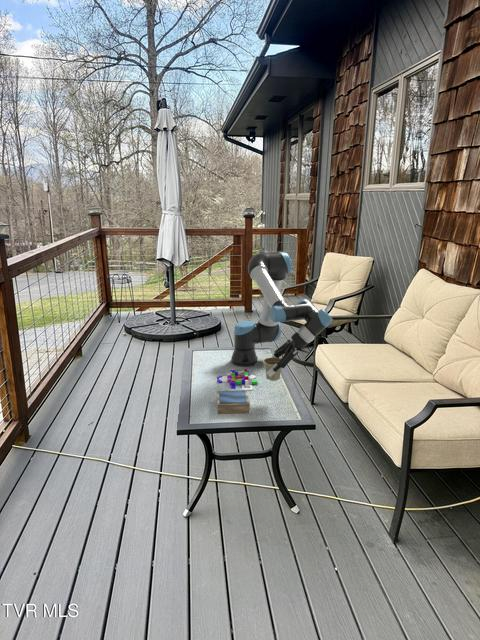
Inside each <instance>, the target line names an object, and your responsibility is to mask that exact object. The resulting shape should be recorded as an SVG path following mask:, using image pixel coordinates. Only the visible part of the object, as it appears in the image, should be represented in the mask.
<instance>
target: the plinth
mask: <svg viewBox="0 0 480 640" xmlns="http://www.w3.org/2000/svg"><path fill="white" fill-rule="evenodd" d="M248 392H249V391H247V390H242V389H241V390H235V389H234V390H217V391H216V399H217V400H216V402H217V405H216V406H217V407H216V408H217V415H247V414H250V411H251V410H250V407H251V406H250V398H249V394H248Z"/></svg>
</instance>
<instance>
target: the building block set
mask: <svg viewBox="0 0 480 640" xmlns="http://www.w3.org/2000/svg"><path fill="white" fill-rule="evenodd" d="M256 377H257V376H256V375H253V374H251V375H250V370H248V369H247V368H243V370H241V371H240V370H239V371H238V370H237V371H236V369H231V370H230V373H228V372H227V373H226V375H219V376H217V381H216V382H218V384H223V383H229V385H230V387H231V389H236V388H237V387H236V386H239V385H241V390H247V392H249V391H250V392H252V391H253V385H254V386H258V381H259V380H257V379H256Z"/></svg>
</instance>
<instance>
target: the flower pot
mask: <svg viewBox="0 0 480 640" xmlns="http://www.w3.org/2000/svg"><path fill="white" fill-rule="evenodd" d="M280 360H281V358H280V357H279V358H275V357H272V356H271V357H267V358H264V359H263V360H262V362H263V365H264V369H265V377H266V380H269V381H270V382H271V381H272V382H275V381H279V380H280V379H281V375H282V374H281V373H282V369H283V368H280V369H279V370H278V371H277V372H276V373H275V374H273V375H272V376H271V377H270V376H269V375H267V374H266V372H267V371H269V370H270V369H271V368H272V367H273V366H274V365H275V364H276V362H279V361H280Z"/></svg>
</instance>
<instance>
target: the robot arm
mask: <svg viewBox="0 0 480 640" xmlns="http://www.w3.org/2000/svg"><path fill="white" fill-rule="evenodd" d="M292 266H293V265H292V259H291V257H290V256H289V254H288V253H287V252H281V251H276V252H275V251H274V252H259V253H256V254H254V255H253V256H252V257H251V258H250V260H249V261H248V266H247V271H248V275H249V277H250V279H251V280H252V281H254V282H255V283H256V286H258V288H259V290H260V292H261V293H262V295H263V301H262V309H261V316H259V317H258V319H257V323H256V322H255V321H253V320H243V321H239V322H237V323H236V324H235V325H234V330H233V334H234V335H233V336H234V338H233V339H234V342H233V343H234V348H233V352H232V356H231V364H232V365H234V366H237V367H253V366H255V365H257V364H258V361H259V360H258V359H259V358H258V356H257V352H256V349H255V346H256V344H264V343H273V342H277V341H278V340H279V339H280V338H281V335H282V326H281V323H285V322H286V323H288V322H292V321H293V322H294V321H295V322H296V321H302V320H303V321H305V323H304V324H303V325H302V326H301V327H300V328H298V330H297V331H295V332H294V333H293V334H292V335H291V336H290V338H291V339H289V338H288V339H287V340H286V342H285V343H283V344H281V346H279V347H278V348H277V349H275V350H274V351H273V355H271V357H275V358H280V357H281V358H280V359H281V360H280V361H279V362H276V364H275V365H274V366H273V367H272V368H271V369H270V370H269V371H267V372H266V371H265V375H266V374H267V375H269V376H270V377H271V376H272V375H273V374H275V373H276V372H277V371H278V370H279V369H280V368H282V369H284V368H286V366H287V365H288V364H289V363H290V362H291V361H292V360H293V359H294V358H295V357H296V356H297V355H298V354H299V351H297V350H298V349H299V348H300V349H301V350H303V349H304V348H305V347H307V346H308V343H311V341H314V340H315V338H316V337H317V336H318V335H319V334H321V332H322V331H324V330H325V329H326V328H328V326H330V324H331V323H332V322H333V318H332V316H331V315H330V314H329V313H328V312H327V311H326V310H325V309H324V308H320V309H318V308H317V307H316V306H315V305H314V303H312V302H311V301H310V300H308V299H307V298H305V299H304V298H303V299H301V300H298V302H297V303H294V304H288V302H287V301H286V300H285V298H284V296H283V295H282V293H281V292H282V285H283V284H282V283H283V281H285V280H286V278H287V275H289V274H290V273H291V272H292V268H293V267H292Z"/></svg>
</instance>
